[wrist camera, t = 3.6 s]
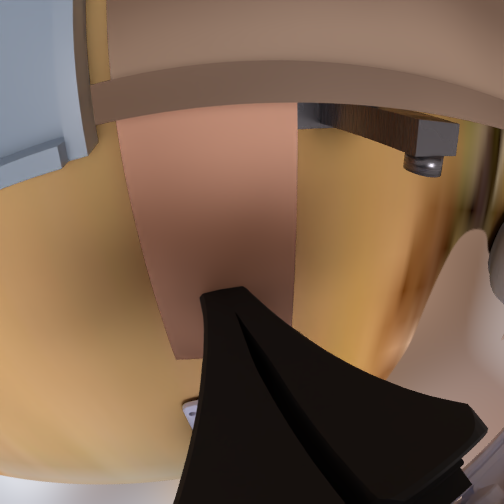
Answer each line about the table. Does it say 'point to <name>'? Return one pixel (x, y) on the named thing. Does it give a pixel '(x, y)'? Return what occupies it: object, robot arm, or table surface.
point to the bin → (43, 88)
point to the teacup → (497, 265)
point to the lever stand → (389, 131)
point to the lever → (265, 121)
